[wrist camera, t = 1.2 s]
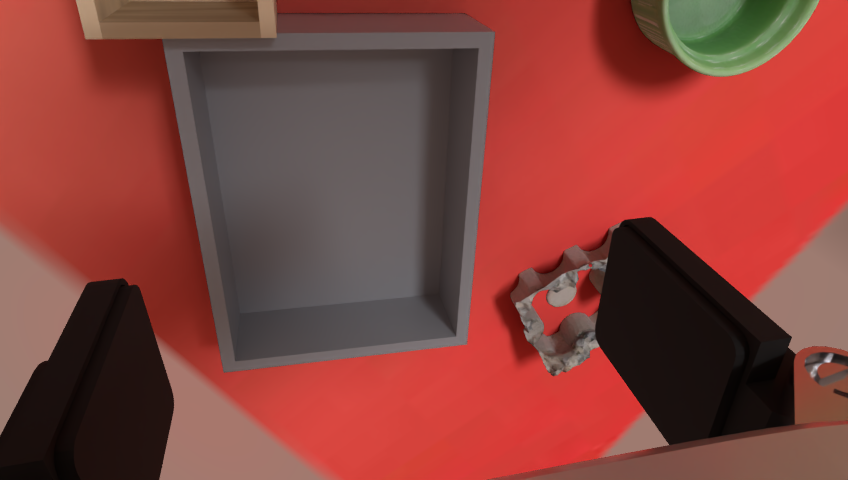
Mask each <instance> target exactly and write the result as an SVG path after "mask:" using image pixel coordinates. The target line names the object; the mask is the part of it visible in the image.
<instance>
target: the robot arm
mask: <svg viewBox="0 0 848 480" xmlns="http://www.w3.org/2000/svg"><path fill="white" fill-rule="evenodd" d="M595 336H596V340H597V343H598V344H599V346H600V348H601V349H602V350H603V352H604V353H605V355H606V356H607V358H608V359H609V360H610V362H611V363H612V365H613V366H614V367H615V369H616V370H617V372H618V373H619V374H620V376H621V377H622V379H623V380H624V382H625V383H626V384H627V386H628V387H629V389H630V390H631V391H632V393H633V394H634V396H635V397H636V398H637V400H638V401H639V403H640V404H641V406H642V407H643V408H644V410H645V411H646V413H647V414H648V415H649V417H650V418H651V420H652V421H653V422H654V424H655V425H656V426H657V428H658V430H659V431H660V432H661V434H662V435H663V437H664V438H665V439H666V441H667V442H668V444H669V445H668V446H663V447H657V448H652V449H647V450H642V451H636V452H631V453H625V454H620V455H614V456H609V457H604V458H598V459H593V460H588V461H582V462H577V463H572V464H566V465H561V466H556V467H551V468H545V469H540V470H535V471H530V472H525V473H519V474H514V475H509V476H504V477H499V478H493V479H488V480H848V352H847V351H844V350H841V349H837V348H832V347H826V346H825V347H823V346H820V347H819V346H812V347H808V348H804V349H802V350H801V351H799V352H798V353H797V354H795V353H794V352H793V351H792V350H790V349H789V348H788V346H789V343H790V341H791V338H792V337H791V336H790V335H789V334H787V333H786V332H785V331H784V330H783V329H782V328H780V327H779V326H778V325H777V324H776V323H775V322H773V321H772V320H771V319H770V318H769V317H768V316H766V315H765V314H764V313H763V312H762V311H761V310H760V309H758V308H757V307H756V306H755V305H754V304H753V303H751V302H750V301H749V300H748V299H747V298H746V297H745V296H743V295H742V294H741V293H740V292H739V291H738V290H736V289H735V288H734V287H733V286H732V285H731V284H729V283H728V282H727V281H726V280H725V279H724V278H722V277H721V276H720V275H719V274H718V273H717V272H716V271H714V270H713V269H712V268H711V267H710V266H709V265H707V264H706V263H705V262H704V261H703V260H702V259H700V258H699V257H698V256H697V255H696V254H695V253H693V252H692V251H691V250H690V249H689V248H688V247H687V246H685V245H684V244H683V243H682V242H681V241H680V240H678V239H677V238H676V237H675V236H674V235H673V234H671V233H670V232H669V231H668V230H667V229H666V228H664V227H663V226H662V225H661V224H660V223H659V222H658V221H656V220H655V219H654V218H652V217H646V218H637V219H629V220H624V221H622V222H621V224H620V226H619V228H616V229H614V231H613V233H612V237H611V243H610V248H609V254H608V259H607V265H606V270H605V276H604V281H603V287H602V292H601V298H600V303H599V309H598V314H597V320H596V325H595ZM173 410H174V398H173V393H172V389H171V386H170V383H169V380H168V377H167V373H166V370H165V367H164V364H163V360H162V357H161V354H160V351H159V348H158V345H157V341H156V338H155V335H154V332H153V329H152V326H151V323H150V319H149V316H148V313H147V310H146V307H145V304H144V300H143V297H142V294H141V291H140V289H139V287H138V286H137V285H130V286H129V285H128V283H127V282H126V280H125V279H123V278H122V279H113V280H105V281H96V282H90V283H88V284H87V285H86V286H85V288H84V290H83V292H82V294H81V296H80V298H79V300H78V302H77V304H76V306H75V308H74V310H73V312H72V314H71V316H70V318H69V320H68V322H67V324H66V326H65V328H64V330H63V332H62V334H61V336H60V338H59V340H58V342H57V344H56V346H55V348H54V350H53V352H52V354H51V356H50V358H49V360H48V361H44V362H42V363H40V364H39V365H38V366H37V368H36V369H35V370H34V372H33V374H32V376H31V378H30V380H29V382H28V384H27V386H26V387H25V389H24V391H23V393H22V395H21V397H20V399H19V401H18V403H17V405H16V407H15V409H14V410H13V412H12V414H11V417H10V418H9V420H8V422H7V424H6V426H5V428H4V430H3V432H2V434H1V435H0V480H159V477H160V473H161V468H162V464H163V459H164V454H165V449H166V444H167V440H168V434H169V430H170V425H171V420H172V416H173Z"/></svg>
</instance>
